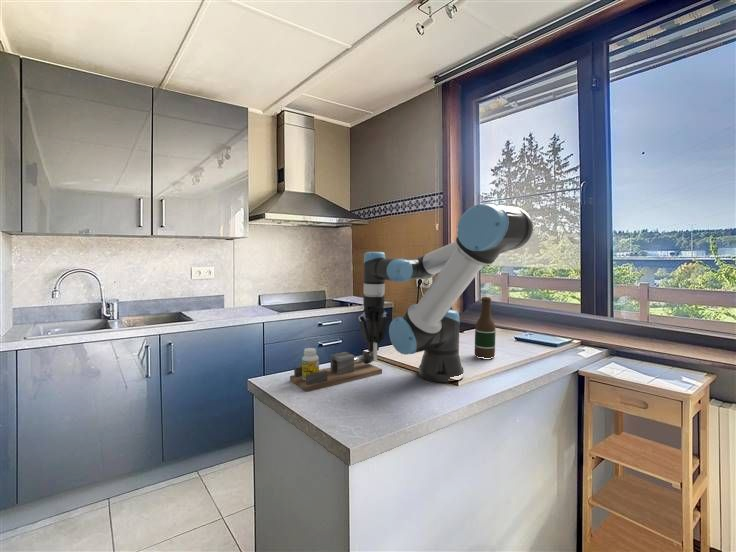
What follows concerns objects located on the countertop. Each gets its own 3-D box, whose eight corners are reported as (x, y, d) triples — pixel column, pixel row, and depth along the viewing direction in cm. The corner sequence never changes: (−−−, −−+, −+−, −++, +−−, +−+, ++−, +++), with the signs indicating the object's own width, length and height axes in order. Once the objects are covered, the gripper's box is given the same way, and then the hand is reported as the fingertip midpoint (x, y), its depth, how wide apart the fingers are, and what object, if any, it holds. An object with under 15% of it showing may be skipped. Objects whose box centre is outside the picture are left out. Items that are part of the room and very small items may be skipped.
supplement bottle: (321, 376, 127) (321, 348, 126) (314, 382, 122) (314, 352, 121) (306, 375, 129) (306, 346, 128) (299, 380, 123) (298, 350, 123)
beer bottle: (495, 360, 150) (497, 299, 148) (475, 359, 152) (476, 298, 150) (493, 354, 158) (495, 296, 156) (473, 353, 159) (475, 295, 157)
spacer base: (382, 373, 135) (382, 353, 134) (306, 391, 118) (306, 368, 117) (362, 364, 145) (362, 345, 144) (289, 380, 128) (289, 359, 127)
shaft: (372, 364, 137) (372, 352, 137) (340, 371, 130) (340, 359, 129) (366, 361, 140) (366, 350, 140) (334, 368, 133) (334, 356, 132)
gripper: (382, 292, 145) (381, 354, 147) (352, 295, 137) (352, 360, 140) (394, 295, 139) (393, 359, 141) (364, 297, 131) (364, 365, 133)
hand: (373, 359), depth 140 cm, fingers closed
